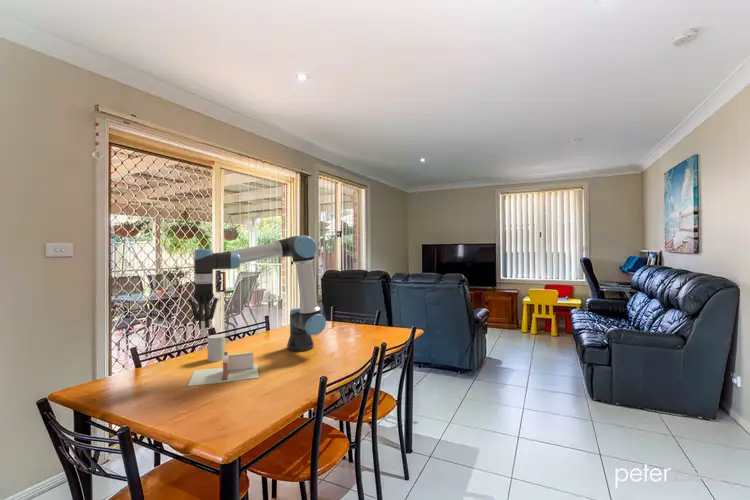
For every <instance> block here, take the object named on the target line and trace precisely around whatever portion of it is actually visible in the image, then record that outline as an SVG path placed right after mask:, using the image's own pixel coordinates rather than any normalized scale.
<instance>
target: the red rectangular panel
mask: <svg viewBox="0 0 750 500" xmlns="http://www.w3.org/2000/svg"><path fill="white" fill-rule="evenodd" d="M222 367H223V379H227V374H228V355H225V356H224V358H223V360H222Z"/></svg>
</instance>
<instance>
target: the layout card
mask: <svg viewBox="0 0 750 500" xmlns="http://www.w3.org/2000/svg"><path fill="white" fill-rule="evenodd" d="M258 365H259V364H258V363H253V368H251V369H242V370H233V371H228V374H227V379H223V366H222V367H215V368H205V369H197V370H196V369H195V370H194V372H193V373H192V375H191V377H190V380H189V382H188V384H187V387H188V388H189V387H195V386H196V387H197V386H204V385H212V384H213V385H214V384H221V383H230V382H239V381H245V380H253V379H254V380H255V379H259V367H258Z"/></svg>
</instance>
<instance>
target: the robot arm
mask: <svg viewBox="0 0 750 500" xmlns="http://www.w3.org/2000/svg"><path fill="white" fill-rule="evenodd" d="M317 247H318V246H317V243H316V241H315V239H314V238H312V236H309V235H296V236H295V235H294V236H289V237H286V238H284V239H279V240H275V242H272V243H268V244H267V243H266V244H261V245H255V246H249V247H245V248H238V249H234V250H228V251H222V252H215V253H214V251H213V249H212V248H199V249H198V248H197V249H195V251H194V258H193V260H194V262H193V265H194V283H195V284H194V294H193V296H192V297H191V298H188V300H187V301H188V302H189V304H190V306H191V312H192V314H193V319H194V320H196V321H198V328H199V329H200V331H201V332H200V335H201V336H202V337H203V336H206V335H208V328H209V327H210V320H212V319H214V317H215V312H216V308H217V304H218V302H219V300H220V298H219V297H217V296H215V294H214V284H213V282H214V274H213V273H214V270H236V269H239V268H240V266H241V265H242V264H245V263H250V262H257V261H261V260H265V259H266V260H267V259H271V258H285V257H286V258H287V257H288V258H291V259H292V262H293V263H294V264H295V268H296V275H297V281H298V291H299V296H300V297H299V298H300V306H301V307H298V308H297V307H296V308H292V309H290V311H289V337H288V342H287V344H286V349H287V350H288V351H292V352H304V351H305V352H306V351H309V350H313V349H314V347H315V346H314V344H315V343H314V340H313V337H312V336H318V335H320V334H321V333H322V332H323V331H324V330H325V328H326V325H327V320H326V318H325V316H324V315H323V314H322V309H321V307H320V306H319V305H318V299H317V291H316V284H315V276H314V267H313V262H314V261H315V254H316V252H317V249H318V248H317ZM196 302H197V303H196ZM211 302H212V304H211ZM210 304H211V307H210ZM197 306H198V307H197Z"/></svg>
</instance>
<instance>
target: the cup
mask: <svg viewBox="0 0 750 500" xmlns="http://www.w3.org/2000/svg"><path fill="white" fill-rule="evenodd" d="M225 349H226V335H225V334H223V333H222V334H212V335H209V336H207V362H212V363H214V362H215V363H216V362H220V361H223V358H224V352H226V350H225Z"/></svg>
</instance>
